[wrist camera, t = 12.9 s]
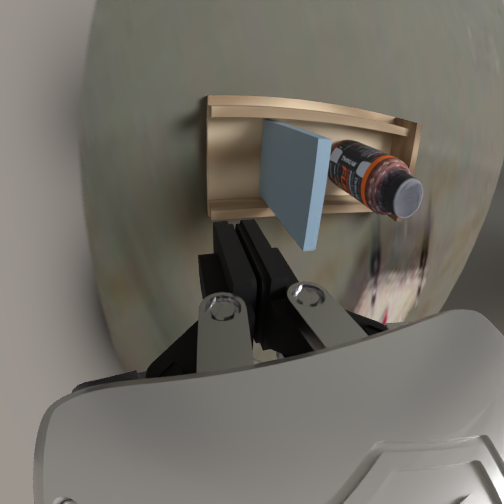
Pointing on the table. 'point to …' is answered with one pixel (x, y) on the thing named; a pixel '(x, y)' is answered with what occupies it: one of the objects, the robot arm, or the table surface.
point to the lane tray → (299, 115)
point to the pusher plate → (294, 178)
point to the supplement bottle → (375, 179)
